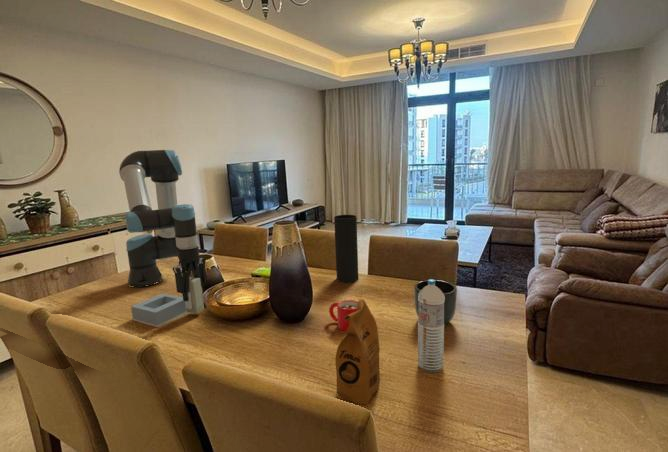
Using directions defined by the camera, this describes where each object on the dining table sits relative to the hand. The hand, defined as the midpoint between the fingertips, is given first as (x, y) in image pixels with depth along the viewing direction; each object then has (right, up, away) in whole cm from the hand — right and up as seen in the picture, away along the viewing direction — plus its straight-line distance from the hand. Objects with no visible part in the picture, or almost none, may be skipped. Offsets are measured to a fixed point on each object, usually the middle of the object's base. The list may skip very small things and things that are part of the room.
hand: (194, 305), depth 141 cm
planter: (+88, -3, -14) cm, 89 cm away
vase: (+60, +5, +32) cm, 68 cm away
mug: (+57, -4, -13) cm, 58 cm away
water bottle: (+80, -9, -39) cm, 89 cm away
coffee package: (+60, -11, -47) cm, 77 cm away
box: (0, -2, 0) cm, 3 cm away
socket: (-13, -4, +1) cm, 14 cm away
